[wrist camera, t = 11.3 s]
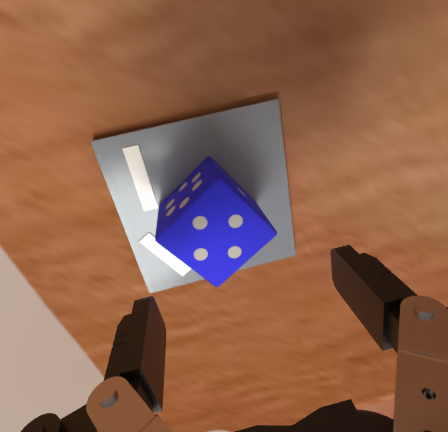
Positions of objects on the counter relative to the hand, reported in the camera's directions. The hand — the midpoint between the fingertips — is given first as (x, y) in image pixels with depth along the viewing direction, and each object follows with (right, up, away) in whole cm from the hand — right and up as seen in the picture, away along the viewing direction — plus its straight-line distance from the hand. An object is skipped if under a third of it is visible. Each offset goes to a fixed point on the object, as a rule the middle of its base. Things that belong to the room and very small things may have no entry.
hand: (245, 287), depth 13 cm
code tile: (-2, +4, +8) cm, 10 cm away
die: (-2, +4, +8) cm, 9 cm away
